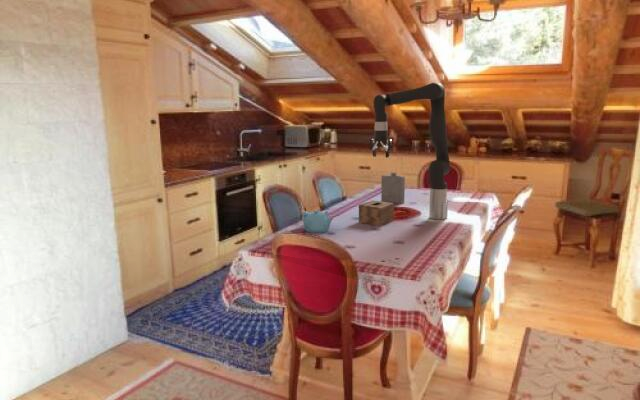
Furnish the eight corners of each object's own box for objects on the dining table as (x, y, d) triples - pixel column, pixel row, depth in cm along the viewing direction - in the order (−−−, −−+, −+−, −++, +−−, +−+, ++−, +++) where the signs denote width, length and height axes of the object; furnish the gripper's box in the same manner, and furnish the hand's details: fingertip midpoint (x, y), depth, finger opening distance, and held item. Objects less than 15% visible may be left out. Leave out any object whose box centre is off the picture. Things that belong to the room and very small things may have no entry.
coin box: (393, 220, 269) (393, 203, 266) (380, 226, 258) (380, 208, 256) (372, 217, 277) (372, 200, 275) (358, 222, 267) (358, 204, 264)
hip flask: (380, 201, 318) (380, 171, 314) (382, 200, 322) (383, 170, 317) (403, 203, 310) (403, 173, 306) (405, 202, 314) (406, 172, 310)
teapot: (329, 225, 261) (329, 206, 259) (333, 233, 246) (332, 212, 244) (301, 227, 259) (301, 207, 257) (303, 234, 245) (303, 214, 242)
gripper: (394, 129, 279) (394, 157, 283) (374, 128, 288) (374, 155, 291) (388, 130, 274) (387, 158, 277) (367, 129, 282) (367, 157, 286)
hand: (380, 157), depth 284 cm, fingers open, 8 cm apart
